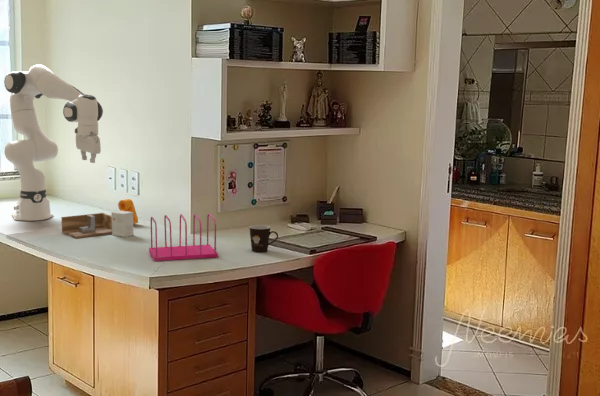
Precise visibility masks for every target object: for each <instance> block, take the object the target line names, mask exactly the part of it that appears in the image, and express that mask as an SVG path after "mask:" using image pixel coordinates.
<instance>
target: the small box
mask: <svg viewBox="0 0 600 396" xmlns="http://www.w3.org/2000/svg"><path fill="white" fill-rule="evenodd" d="M110 215H111V216H112V234H111V235H112V236H117V237H121V238H122V237H123V238H125V237H130V236H133V235H134V234H135V233H134V231H135V230H134V224H133V212H128V211H120V210H116V211H112V212H111V214H110Z"/></svg>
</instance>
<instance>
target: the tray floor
mask: <svg viewBox="0 0 600 396" xmlns="http://www.w3.org/2000/svg"><path fill="white" fill-rule="evenodd" d="M61 232H62V233H63V234H65V235H66V236H69V237H71V238H73V239H76V240H77V239H83V238H91V237H93V238H94V237H99V236H107V235H112V230H111V229H109V228H106V227H104V226H99V227H95V232H88V233H81V232H79V229H72V230H64V231H63V230H62V229H61Z"/></svg>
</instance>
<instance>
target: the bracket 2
mask: <svg viewBox="0 0 600 396" xmlns="http://www.w3.org/2000/svg"><path fill="white" fill-rule="evenodd" d="M117 206H118V209H119V211H128V212H133V225H135V224H139V218H138V215H137V211H136V208H135V205H134V202H133V200H132V199H131V198H127V199H121V200H119V201H118V204H117Z"/></svg>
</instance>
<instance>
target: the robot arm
mask: <svg viewBox="0 0 600 396" xmlns="http://www.w3.org/2000/svg"><path fill="white" fill-rule="evenodd" d="M3 83H4V87H5V89H6V91H7V92H8V93H11V95H10V97H9V105H10V106H9V107H10V113H11V119H12V123H13V128H14V130H15V131H16V132H17V133H18V134H21V135H22V136H24V137H25V138H26V139H19V140H18V139H17V140H13V141H12V140H11V141H9V142H7V143H6V145H5V147H4V155H5V158H6V159H7V160H8V162H10V163H12V164H13V166H15V167H16V169H17V171H18V174H19V177H20V188H21V189H20V191H19V192H20V193H19V200H18V201H17V203H16V205H13V210H14V211H16V212H13V213H11V216H12V218H13V219H14V221H27V222H28V221H29V222H30V221H43V220H47V219H50V218H52V217H54V214H53V213H51V206H50V205H51V204H50V200H49V199H48V198H47V194H48V193H47V190H46V179H45V178H46V177H45V174H44V172H43V171H41V170H40V169H38V168H35V165H34V163H36V162H48V161H50V160H54V159H56V157H57V155H58V152H59V148H58V145H57V143H56V142H55V141H54V140H53V139H51V138H50V137H48V136H47V135H46V134H45V133H44V132H43V130H42V128H41V127H40V125H39V121H38V118H37V114H36V110H35V106H34V100H35V99H41V97H42V96H45V98H48V99H57V100H64V101H68V102H66V103H65V104H64V107H63V109H62V110H63V111H62V112H63V113H62V114H63V116H64V119H66V121H68V122H69V123H77V127H76V128H74V134H75V145H76V146H75V147H76V148H77V150H80V155H81V160H82V161H87V160H88V156H87V153H90V158H89V162H90V163H91V164H96V157H97V154H101V138H100V137H99V121H100V119H101V118H102V117H103V113H104V110H103V106H102V105H101V103H100V102H99V101H98V100H97V97H95V96H94V95H90V94H85V93H83V92H82V91H80V90H79V89H78V88H76V87H75V86H73V85H71V84H69V83H68V82H66V81H65V80H63V79H62V78H60V77H59V76H58V75H57V74H56V73H54V72H53V71H52V70H51V69H50V68H48V67H46V66H45V65H43V64H35V65H33V66H31V67H30V68H29V70H28V71H19V70H18V71H16V70H15V71H11V72H8V73H7V74H6V75H5V77H4V80H3Z"/></svg>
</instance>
